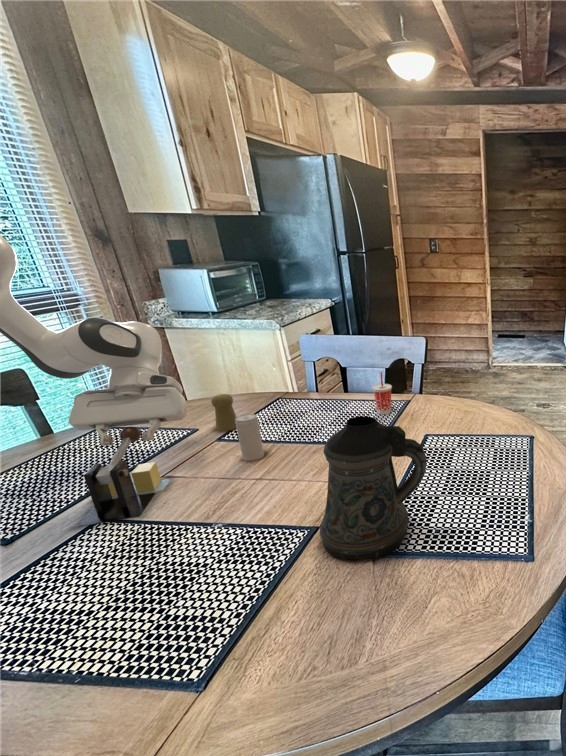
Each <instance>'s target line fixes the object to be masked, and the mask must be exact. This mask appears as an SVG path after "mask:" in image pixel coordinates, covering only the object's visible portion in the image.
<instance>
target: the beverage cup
mask: <svg viewBox="0 0 566 756" xmlns="http://www.w3.org/2000/svg"><path fill="white" fill-rule="evenodd" d="M392 389H393V385H392V384H389V383H384V381H383V372H382V371H381V372H380V383H377V384H375V385H373V386H372V391H373V395H374V401H375V407H376V413H377V414H378V415H388V414H390V413H391V412H392Z"/></svg>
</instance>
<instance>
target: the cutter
mask: <svg viewBox="0 0 566 756" xmlns="http://www.w3.org/2000/svg"><path fill="white" fill-rule="evenodd" d="M101 467H103V465H102V463H95V464H93V465H92V466H91V467H90V468H89V469H88V470H87V471H86V472H85V473H84V474H83V478H84V481H85V484H86V486H87V489H88V491H89V492H88V493H89V495H90V498H91V501H92V503H93V507H92V508H91V509H90V510H89V511H88V513H87V514H86V515H85V516H84V517H83V519H82V520H81V521H79V523H78V524H77V525H76V528H80V527H85V526H92V525H97V524H103V523H110V522H115V521H121V520H128V519H131V518H132V519H133V518H139V517H141V516H142V514H143V513H144V512H145V510H146V509H147V507H148V506H149V505H150V503H151V501H152V500H153V499H154V497H155V495H156V494H157V492H158V491H155V492H148V493H142V494H136V492H135V489H134V485H133V484H134V481H133V478H132V475H131V472H130V469H129V467H128V464H127V460H121V461H119V462H118V463H117V464H116V465H115V466H114V467H113V469H112V470H111V471H110V474H111V477H112V480H113V483H114V486H115V489H116V492H117V495H118V497H115V498H112V495H111V492H110V489H109V486H108V484H105V485H100V483H99V482H98V480H97V478H96V475H97V474H98V472H99V470H100V468H101Z"/></svg>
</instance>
